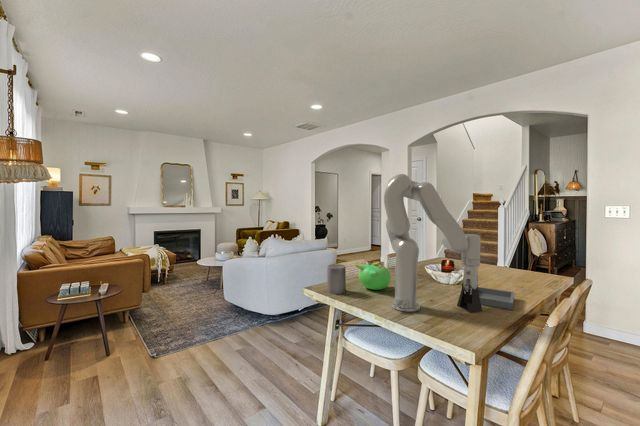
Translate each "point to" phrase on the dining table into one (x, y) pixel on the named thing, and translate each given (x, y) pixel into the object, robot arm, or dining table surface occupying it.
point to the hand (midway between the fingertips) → (469, 300)
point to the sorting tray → (496, 298)
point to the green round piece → (374, 276)
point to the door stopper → (475, 301)
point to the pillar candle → (336, 279)
